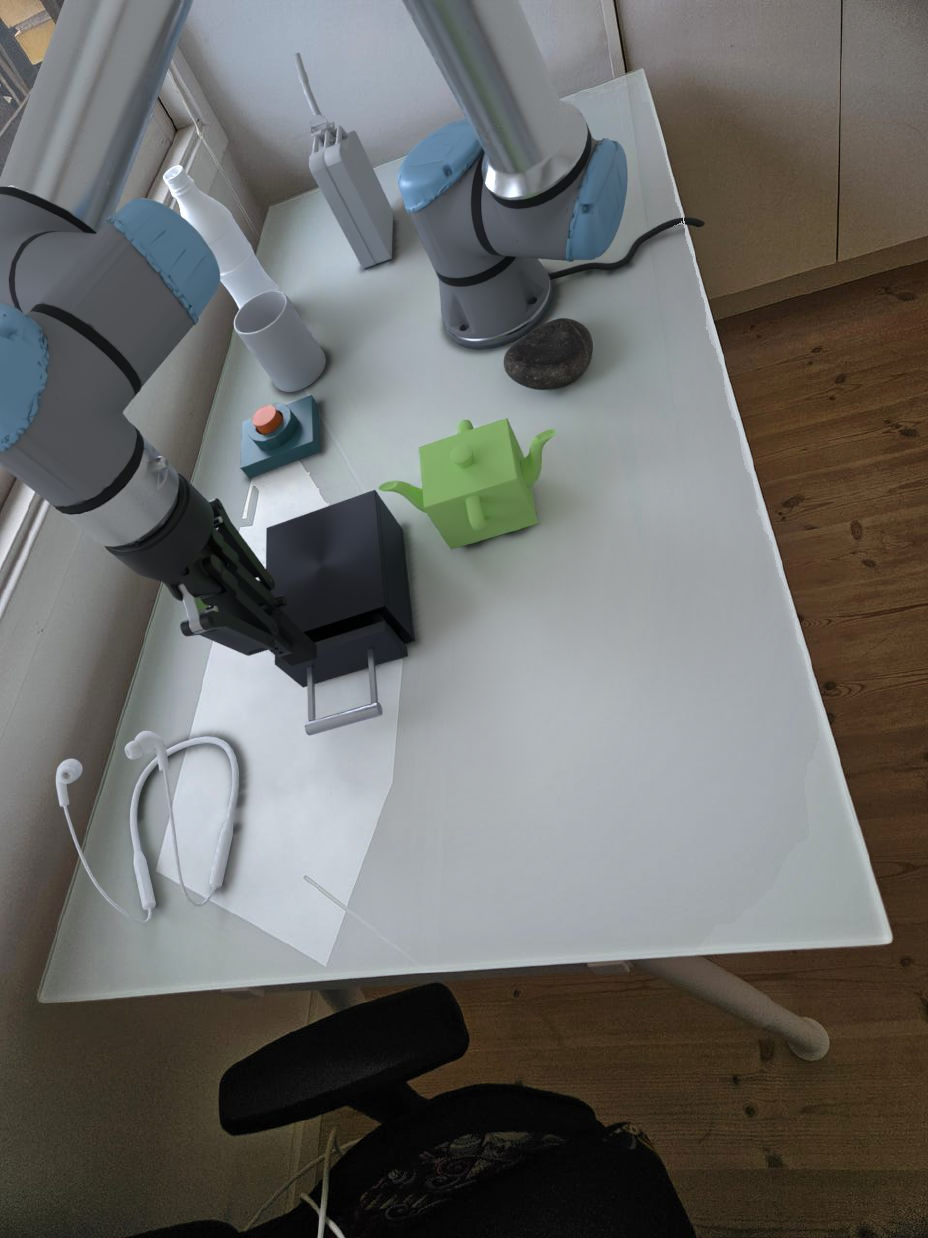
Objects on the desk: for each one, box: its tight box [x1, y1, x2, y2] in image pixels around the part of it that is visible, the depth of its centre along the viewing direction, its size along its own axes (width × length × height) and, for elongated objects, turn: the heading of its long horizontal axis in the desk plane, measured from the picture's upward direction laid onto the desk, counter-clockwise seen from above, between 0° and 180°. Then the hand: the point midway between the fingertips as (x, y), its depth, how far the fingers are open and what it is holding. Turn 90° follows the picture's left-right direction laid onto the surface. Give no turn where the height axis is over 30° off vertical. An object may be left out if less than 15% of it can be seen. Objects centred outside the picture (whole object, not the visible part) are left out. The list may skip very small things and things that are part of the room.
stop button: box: [251, 404, 282, 434], centre depth 109 cm, size 4×4×2 cm
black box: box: [265, 489, 416, 645], centre depth 91 cm, size 16×14×8 cm
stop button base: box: [239, 394, 322, 479], centre depth 111 cm, size 11×9×4 cm
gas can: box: [292, 52, 394, 269], centre depth 119 cm, size 15×5×25 cm, turn 1°
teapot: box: [378, 418, 557, 550], centre depth 89 cm, size 15×13×11 cm
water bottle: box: [162, 164, 283, 311], centre depth 118 cm, size 7×7×25 cm
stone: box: [503, 317, 594, 391], centre depth 99 cm, size 11×11×5 cm
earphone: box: [55, 730, 240, 925], centre depth 84 cm, size 14×17×18 cm
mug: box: [233, 290, 327, 393], centre depth 115 cm, size 12×8×11 cm
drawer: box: [274, 613, 409, 736], centre depth 87 cm, size 22×13×6 cm, turn 7°
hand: (303, 655), depth 77 cm, fingers closed
